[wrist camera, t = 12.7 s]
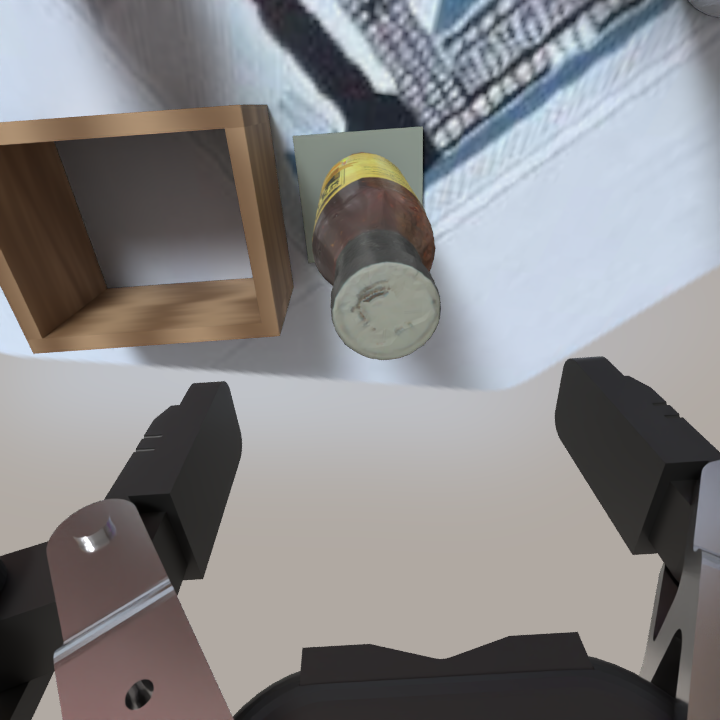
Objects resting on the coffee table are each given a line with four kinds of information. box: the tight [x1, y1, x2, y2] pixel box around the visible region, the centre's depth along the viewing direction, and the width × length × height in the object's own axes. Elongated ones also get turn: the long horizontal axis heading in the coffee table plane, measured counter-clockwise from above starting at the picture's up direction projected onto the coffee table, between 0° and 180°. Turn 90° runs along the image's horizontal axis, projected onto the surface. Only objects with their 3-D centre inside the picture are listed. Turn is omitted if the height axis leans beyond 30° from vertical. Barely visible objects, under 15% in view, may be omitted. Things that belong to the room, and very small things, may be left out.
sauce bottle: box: [312, 152, 441, 360], centre depth 24 cm, size 7×6×20 cm
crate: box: [0, 105, 293, 354], centre depth 30 cm, size 16×13×9 cm
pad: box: [293, 127, 423, 263], centre depth 33 cm, size 9×9×1 cm
